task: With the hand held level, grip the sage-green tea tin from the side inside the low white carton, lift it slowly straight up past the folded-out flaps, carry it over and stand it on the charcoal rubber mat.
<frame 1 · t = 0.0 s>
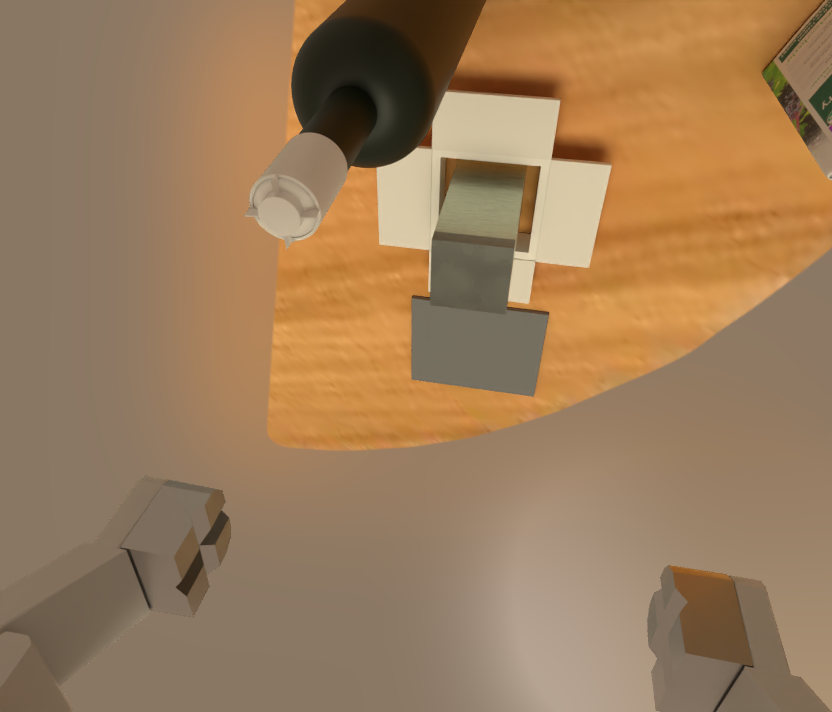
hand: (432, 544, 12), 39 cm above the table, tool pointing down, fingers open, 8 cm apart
mat: (475, 346, 60), on the table
tea tin: (490, 188, 49), resting in carton
carton: (490, 188, 49), on the table
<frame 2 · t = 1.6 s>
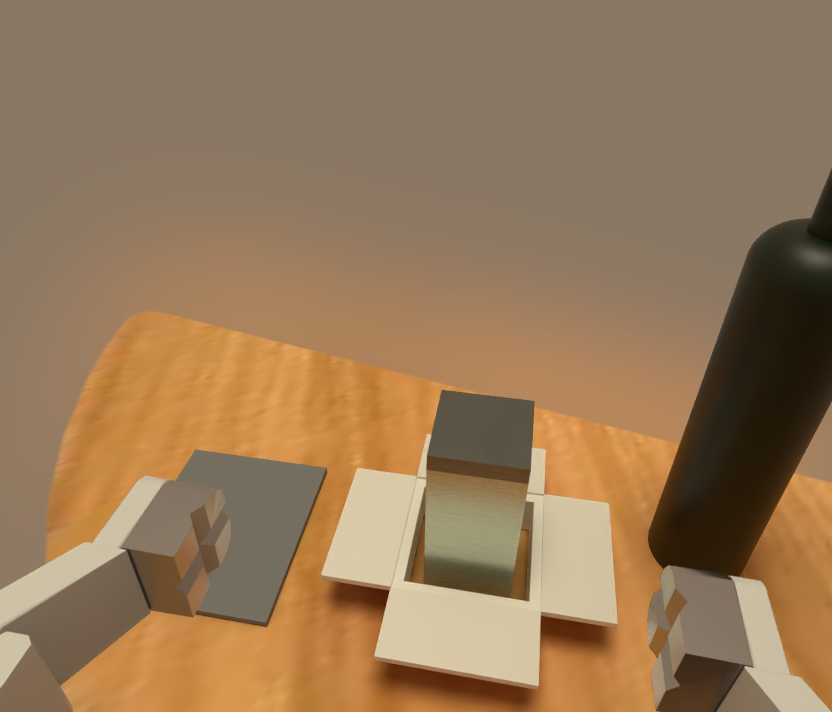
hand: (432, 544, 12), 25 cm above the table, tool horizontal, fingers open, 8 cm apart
mat: (227, 528, 42), on the table
tea tin: (469, 567, 40), resting in carton
carton: (469, 567, 40), on the table
wine bottle: (693, 550, 41), on the table
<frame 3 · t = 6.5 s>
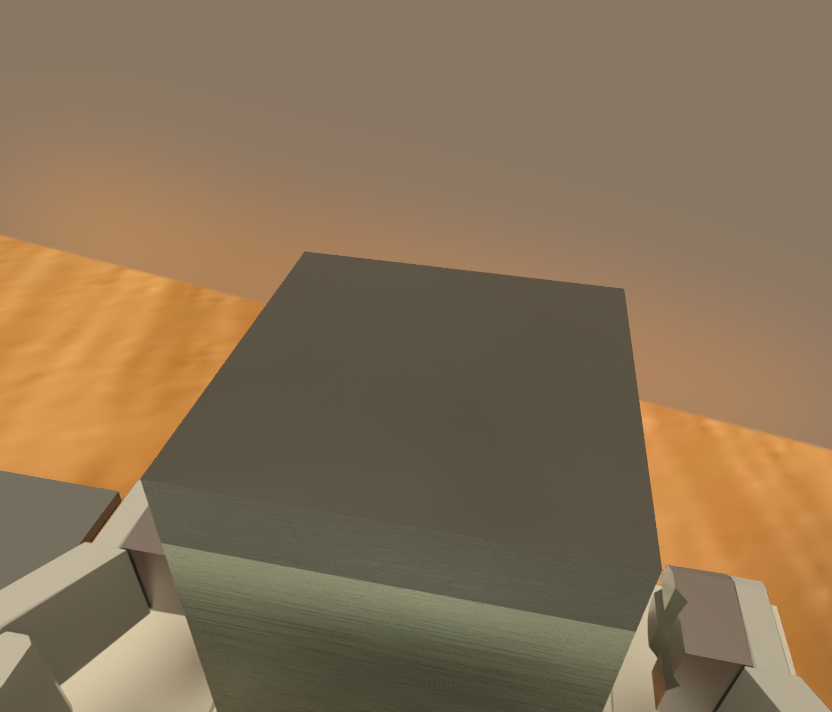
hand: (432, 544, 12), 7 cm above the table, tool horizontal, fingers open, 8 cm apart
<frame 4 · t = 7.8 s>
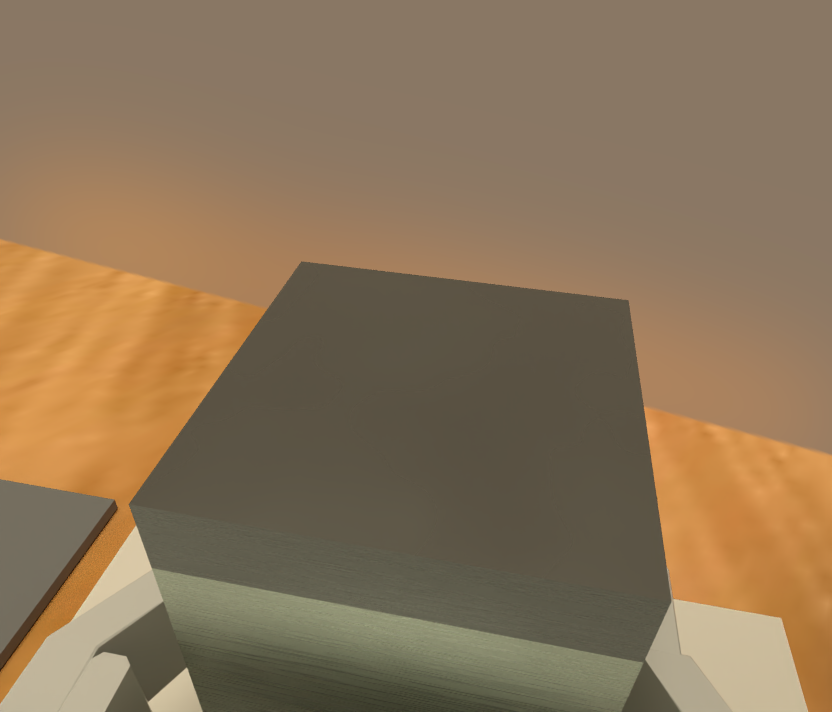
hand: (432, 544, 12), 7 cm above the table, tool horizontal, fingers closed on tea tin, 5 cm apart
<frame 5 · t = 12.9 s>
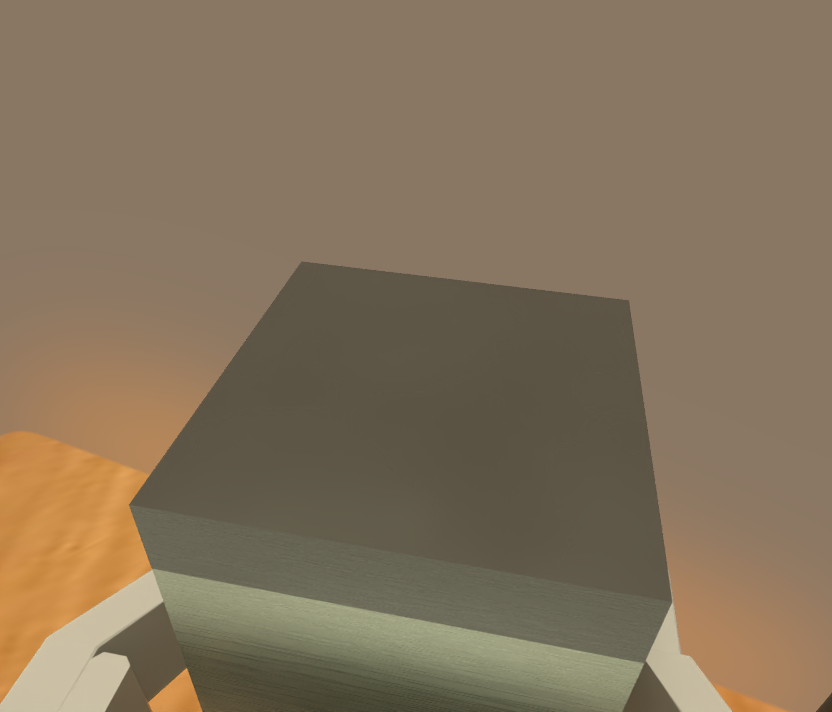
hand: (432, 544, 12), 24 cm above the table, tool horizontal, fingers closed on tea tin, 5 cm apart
when the fingers open (8 cm above the table, at t = 17.8 s): tea tin drops 1 cm, resting on mat.
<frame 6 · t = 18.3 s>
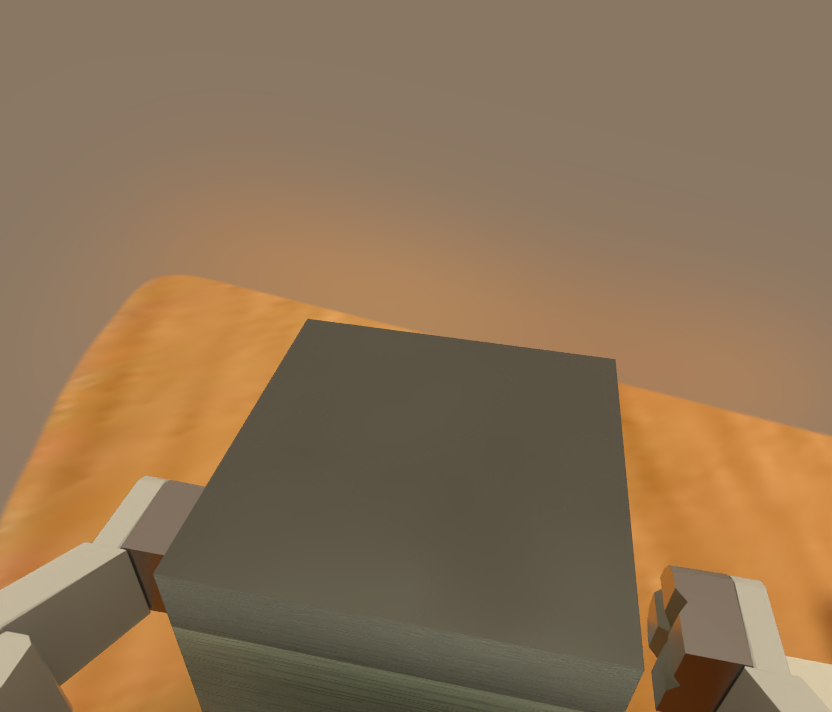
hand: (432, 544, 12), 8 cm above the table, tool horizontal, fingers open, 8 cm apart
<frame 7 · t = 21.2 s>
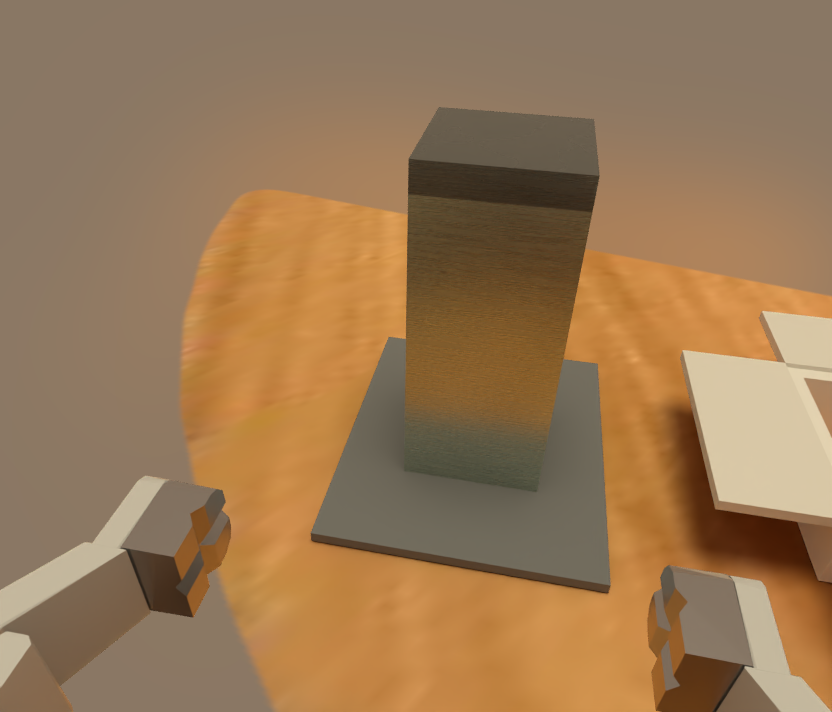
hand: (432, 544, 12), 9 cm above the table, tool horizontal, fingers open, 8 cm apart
mat: (475, 442, 26), on the table
tea tin: (477, 435, 26), resting on mat
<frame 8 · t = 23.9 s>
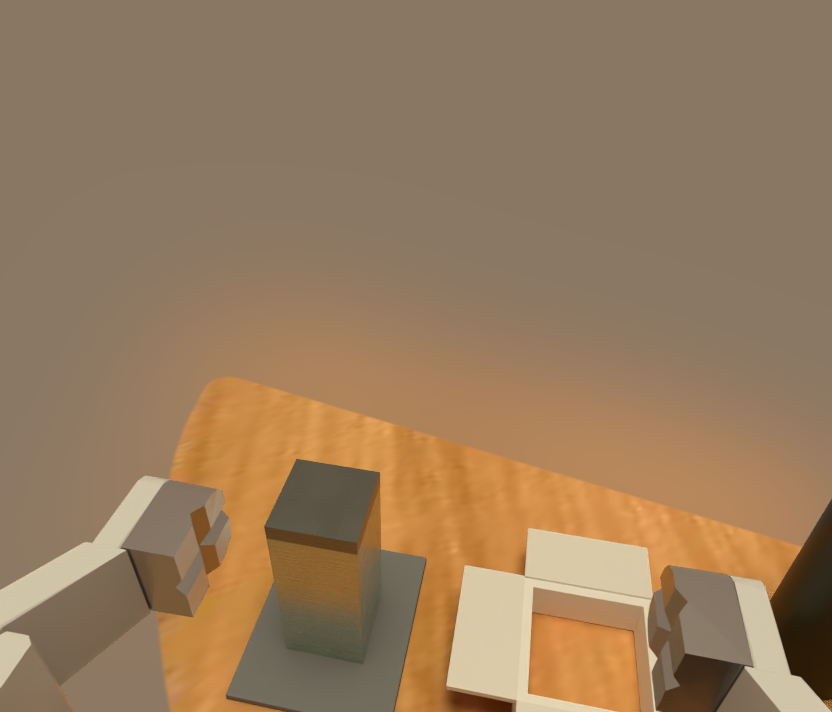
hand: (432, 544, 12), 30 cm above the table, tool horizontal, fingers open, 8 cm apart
mat: (335, 623, 43), on the table
tea tin: (335, 620, 42), resting on mat
carton: (580, 671, 41), on the table
wine bottle: (798, 656, 42), on the table
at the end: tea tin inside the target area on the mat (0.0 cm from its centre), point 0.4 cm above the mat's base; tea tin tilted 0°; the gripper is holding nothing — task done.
